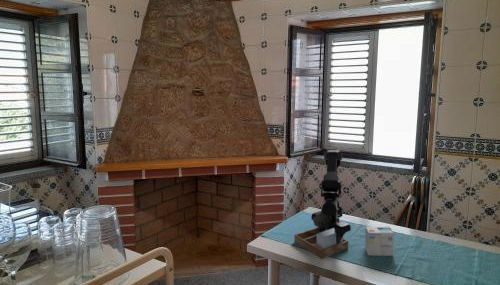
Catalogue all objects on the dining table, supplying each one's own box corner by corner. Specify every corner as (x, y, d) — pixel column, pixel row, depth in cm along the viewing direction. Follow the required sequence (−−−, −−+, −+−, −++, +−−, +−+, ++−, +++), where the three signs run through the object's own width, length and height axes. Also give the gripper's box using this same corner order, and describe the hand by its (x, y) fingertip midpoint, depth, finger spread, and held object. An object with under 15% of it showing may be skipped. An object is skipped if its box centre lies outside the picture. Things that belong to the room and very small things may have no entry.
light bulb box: (389, 248, 158) (390, 225, 156) (393, 256, 151) (394, 232, 149) (364, 248, 159) (364, 225, 157) (367, 255, 152) (368, 232, 150)
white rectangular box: (336, 243, 162) (336, 226, 161) (343, 246, 159) (343, 230, 157) (316, 250, 156) (316, 233, 155) (322, 254, 153) (323, 237, 151)
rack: (319, 233, 175) (319, 225, 174) (348, 248, 159) (348, 239, 158) (294, 242, 167) (294, 233, 166) (321, 259, 151) (321, 249, 150)
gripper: (301, 204, 157) (302, 236, 161) (332, 218, 142) (331, 254, 145) (320, 198, 163) (320, 230, 166) (352, 211, 147) (351, 246, 151)
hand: (330, 239), depth 157 cm, fingers open, 9 cm apart
